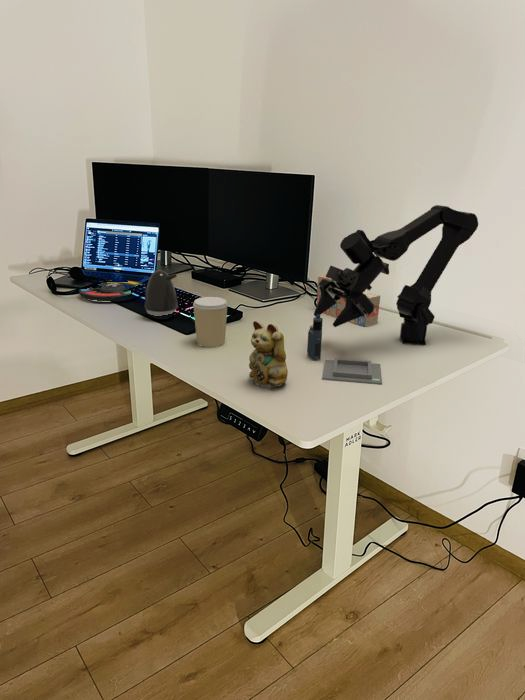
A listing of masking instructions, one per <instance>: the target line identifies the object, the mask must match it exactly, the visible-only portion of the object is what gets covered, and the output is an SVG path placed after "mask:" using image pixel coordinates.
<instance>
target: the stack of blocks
mask: <svg viewBox="0 0 525 700" xmlns="http://www.w3.org/2000/svg"><path fill="white" fill-rule="evenodd" d="M325 276H326V274H323V275H318V276H317V290H316V292H317V293H316V294H317V295H316V296H317V298H316V299H317V300H316V306H317V305H318V303H319V300H320V297H321V290H320V289H319V287H320V286H319V285H318V284H319V283H320V282H321V281H322V279H329V280H331V281H334V283H335V284H336V282H337V281H335V280H332V279H331V278H327V277H325ZM336 285H337V284H336ZM337 286H338V285H337ZM338 287H339V286H338ZM339 288H340V287H339ZM363 294H365V295H366V296H367V297H368V298H369V300H370V301H371V302H372V303H373V305H374V311H373V312H372V313H371V314H370V315H369V316H368V315H366V314H365V316H364V317H363V316H362V317H359V318H356V319H353V320H351V321H348V322H347V323H352V324H355V325H358V326H361V327H364V328H365V327H369V326H372V325H377V324H378V321H379V320H378V319H379V313H380V311H379V310H380V304H381V303H380V302H381V294H380V295H379V294H377V293H372V292H370V291H366V290H365V291H364V292H363ZM343 295H344V294H343ZM336 302H337V303H336V304H335V305H333V306H332V307H330V308H329V309H328V310H326V311H325V312H323V313H324V314H323V313H322V314H323V315H326V316H329V315H330V317H333V318H335V319H336V318H337V317H338V316H339V314H340V313H341V312H342V310H343V309H344V308H345V305H346V300H345V299H343V298H340V299H339V300H337V301H336Z"/></svg>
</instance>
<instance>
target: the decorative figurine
mask: <svg viewBox="0 0 525 700" xmlns="http://www.w3.org/2000/svg"><path fill="white" fill-rule="evenodd" d="M252 325H253V328H254V331H253V332H252V336H251V338H250V343H251V345H252V347H253V348H255V349H254V350H252V352H251V353H250V354H249V359H248V360H249V363H248V368H249V369H250V370H251V371H250V372H249V373H248V376H249V378H250V379H253V380H254V384H255V385H258V386H260V387H263V388H266V389H268V390H271V389H273V388H275V387H279V386H281V385H284V384H285V382H286V381H287V380H288V375H289V374H288V373H289V372H288V368H287V362H286V359H287V354H286V351H285V339H284V338H285V337H284V334H283V333H282V332H281V331H279V328H278V326H277V325H276V324H275V323H269V324H267V326H265V325H264V324H263V323H262V322H261V321H258V320H254V321H253V322H252Z"/></svg>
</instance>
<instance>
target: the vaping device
mask: <svg viewBox="0 0 525 700" xmlns="http://www.w3.org/2000/svg"><path fill="white" fill-rule="evenodd" d="M323 320H324V319H323V317H321V315H319V314H317V315H316V317H315V316H314V317H313V323H312V325H310V326H309V329H308V332H307V347H306V348H307V349H306V351H307V356H308V357H309V358H310V359H311V360H312V361H320V360H321V356H322V342H323Z"/></svg>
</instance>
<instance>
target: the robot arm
mask: <svg viewBox="0 0 525 700" xmlns="http://www.w3.org/2000/svg"><path fill="white" fill-rule="evenodd" d="M440 225H442V228H441V239H440V241H439V242H438V244H437V246H436V248H435V249H434V250H433V252H432V254H431V256H430V257H429V259H428V260H427V263H426V264H425V266H424V268H423V269H422V271H421V273H420V274H419V276H418V277H417V279H416V281H415V282H414V283H413V284H411V285H407V284H404V286H403V287H402V290H401V291H400V293H399V294H398V295H397V298H398V299H397V301H396V309H397V311H398V315H399V318H402V319H403V322H401V324H400V331H399V338H400V340H401V343H402V344H406V345H407V344H409V345H421V346H422V345H427V342H426V338H427V337H426V336H427V329H428V326H429V324H430V325H431V324H433V323H434V320H435V315H434V313H433V312H432V310H430V308H429V307H430V305H431V304H432V291H433V290H434V288H435V287H436V284H437V282H438V281H439V279H440V278H441V276H442V274H443V273H444V270H445V269H446V268H447V266H448V265H449V262H450V261H451V259H452V258H453V256H454V255H455V252H456V251H457V249H458V248H459V246H461V245H463V244H464V243H465V242H466V241H468V240H469V239H471V237H472V236H473V235H474V234H475V232H476V231H477V229H478V227H479V220H478V216H477V215H476V214H475V213H472V212H466V211H460V210H456V209H453V208H450V206H446V205H439V204H435V205H433V206H431V208H430V209H429V210H427V211H426V212H425V213H422V214H421V215H420V216H418V217H417V218H415V219H413V220H412V221H409V223H407V224H405V225H404V226H402V227H401V228H398V229H396V230H391V231H387V232H385V233H382V234H379V235H378V236H377V237H375V238H374V239H372V240H370V239H369V238H368V237H367V235H366V234H367V233H365V231H364V230H363V229H357V230H356V231H355V232H352V233H350V234H348V235H347V236H345V237H344V238H342V240H341V242H340V245H339V246H340V249H341V250H342V252H343V253H344V254H345V255H346V257H347V258H348V259H349V261H351V263H352V264H353V265H356V264H357V266H356V267H355V268H354V269H351V268H348V267H346V268H344V269H341V268H338V267H336V266H334V265H330V266H329V268H328V270H327V272H326V274H325V275H326V276H325V277H327V278H331V279H332V280H335V281H337V282H336V284H337V285H338V286H339V287H340V288H339V287H338V286H337V285H336V284H335V283H334V281H331V280H329V279H322V281H321V282H320V283H319V284H318V283H317V286H318V285H319V286H320V287H319V289H320V290H321V297H320V300H319V303H318V305H317V304H316V308H315V310H314V312H313V316H314V318H315V317H316V315H317V314H319V315H320V316H321V315H322V314H323V312H325V311H326V310H328V309H329V308H330V307H332V306H333V305H335V304H336V303H337V302H336V301H337V300H339V299H340V298H343V299H345V300H346V305H345V308H344V309H343V310H342V312H341V313H340V314H339V316H338V317H337V318H335V319H334V322H333V323H332V326H333V327H334V328H337V327H340V326H341V325H343V324H346V323H349V322H348V321H351V320H353V319H356V318H359V317H362V316H363V317H364V316H365V314H366V315H368V316H369V315H370V314H371V313H372V312H373V311H374V305H373V303H372V302H371V301H370V300H369V298H368V297H367V296H366V295H365V294H363V292H364V291H366V290H367V291H371V289H372V288H373V286H371V284H372V283H373V282H374V281H375V280H376V279H377V278H378V276H379V275H380V274H383V275H388V276H389V275H390V267H389V266H390V264H389V263H387V262H384V261H383V259H385V260H388V261H392V262H395V261H397V260H399V259H400V258H401V257H402V256H404V254H405V253H406V252H407V251H408V250H409V247H410V245H412V244H413V243H414V242H415V241H418V240H419V239H420V238H422V237H424V236H425V235H427V234H428V233H430V232H431V231H433V230H434V229H436V228H437V227H438V226H440ZM343 294H344V295H343Z"/></svg>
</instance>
